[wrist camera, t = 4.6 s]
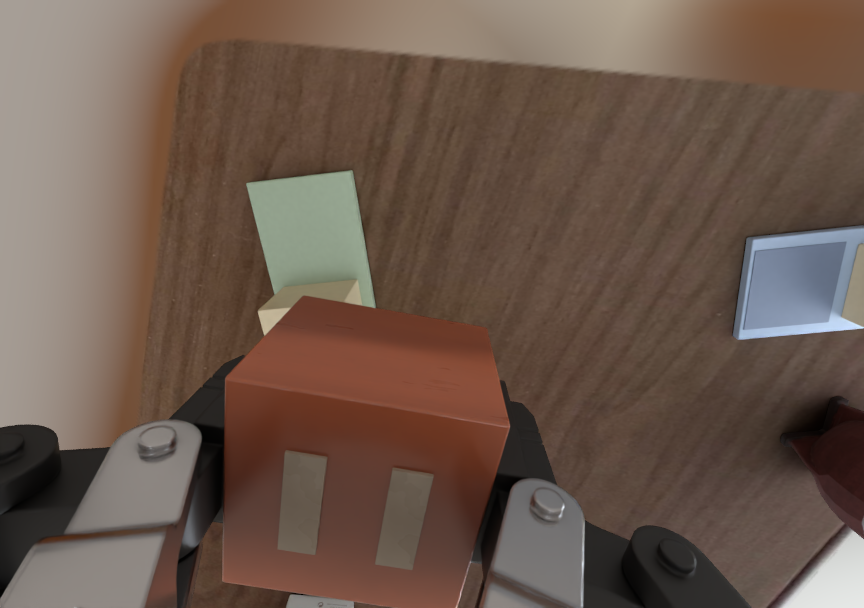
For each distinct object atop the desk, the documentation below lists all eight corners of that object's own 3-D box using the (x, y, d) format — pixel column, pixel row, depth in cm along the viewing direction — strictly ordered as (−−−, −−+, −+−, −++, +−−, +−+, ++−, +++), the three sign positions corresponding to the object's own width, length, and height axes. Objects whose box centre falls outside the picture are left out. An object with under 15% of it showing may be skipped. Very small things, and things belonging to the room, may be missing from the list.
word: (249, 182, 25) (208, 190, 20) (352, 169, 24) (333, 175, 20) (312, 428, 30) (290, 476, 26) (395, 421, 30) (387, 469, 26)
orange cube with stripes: (302, 293, 10) (221, 379, 7) (487, 326, 11) (512, 429, 7) (290, 446, 12) (219, 586, 8) (451, 473, 12) (455, 622, 8)
